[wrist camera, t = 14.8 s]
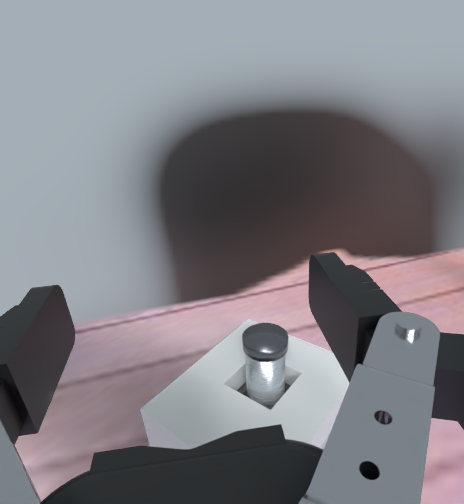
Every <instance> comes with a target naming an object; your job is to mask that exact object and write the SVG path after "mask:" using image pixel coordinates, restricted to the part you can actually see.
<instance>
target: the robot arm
mask: <svg viewBox="0 0 464 504" xmlns="http://www.w3.org/2000/svg"><path fill="white" fill-rule="evenodd" d="M309 304H310V308H311V312H312V314H313V316H314V318H315V320H316V322H317V324H318V325H319V327H320V329H321V331H322V333H323V335H324V337H325V338H326V340H327V342H328V344H329V346H330V348H331V350H332V351H333V353H334V355H335V357H336V359H337V361H338V362H339V364H340V366H341V368H342V370H343V372H344V374H345V375H346V377H347V379H348V381H349V386H348V388H347V391H346V393H345V396H344V399H343V401H342V404H341V406H340V409H339V412H338V414H337V417H336V419H335V422H334V424H333V427H332V430H331V432H330V435H329V437H328V440H327V442H326V445H325V448H324V450H323V449H321V448H319V447H317V446H314V445H311V444H308V443H305V442H301V441H296V440H290V439H285V436H284V432H283V429H282V425H281V424H279V425H272V426H266V427H259V428H253V429H246V430H240V431H235V432H233V433H230V434H228V435H225V436H223V437H220V438H218V439H215V440H213V441H210V442H208V443H206V444H203V445H201V446H198V447H196V448H193V449H174V448H162V447H151V446H136V447H130V448H123V449H117V450H110V451H104V452H97V453H94V456H93V460H92V464H91V468H90V471H87V472H85V473H83V474H81V475H79V476H77V477H75V478H73V479H71V480H70V481H68V482H67V483H65V484H64V485H62V486H60V487H59V488H58V489H56V490H55V491H54V492H52V493H51V494H50V495H49V496H47V497H46V498H45V499H44V500H43V501H42V502H41V500H40V497H39V495H38V493H37V491H36V489H35V487H34V485H33V483H32V481H31V479H30V477H29V475H28V472H27V470H26V468H25V466H24V464H23V462H22V460H21V458H20V456H19V454H18V452H17V450H16V448H15V446H14V445H15V443H16V441H17V438H18V436H22V435H28V434H35V433H38V431H39V429H40V426H41V424H42V421H43V419H44V416H45V414H46V411H47V409H48V407H49V404H50V402H51V399H52V397H53V394H54V392H55V389H56V387H57V385H58V382H59V380H60V377H61V375H62V372H63V370H64V367H65V365H66V363H67V360H68V358H69V355H70V353H71V350H72V348H73V345H74V341H75V329H74V325H73V321H72V318H71V315H70V312H69V309H68V306H67V303H66V300H65V297H64V294H63V291H62V289H61V287H60V286H58V285H53V286H44V287H37V288H32V289H30V291H29V292H28V293H27V295H26V296H25V298H24V299H23V300H22V302H21V303H20V304H19V305H17V306H14V307H13V308H11V309H10V310H9V311H7V312H6V313H5V314H3V315H2V316H1V317H0V504H420V501H421V493H422V485H423V478H424V470H425V462H426V454H427V447H428V439H429V431H430V423H431V418H437V419H445V420H453V421H458V423H459V424H460V425H461V427H462V428H463V430H464V335H463V334H451V333H441V332H439V329H438V328H437V326H436V325H435V324H434V323H433V322H431V321H430V320H428V319H427V318H425V317H422V316H420V315H417V314H414V313H409V312H402V311H401V310H400V309H399V308H398V307H397V305H396V304H395V303H394V302H393V301H392V300H391V299H390V298H389V297H388V296H387V295H386V294H385V292H384V291H383V290H380V287H379V286H378V285H377V284H376V283H375V282H373V279H372V278H371V277H370V276H369V275H368V274H367V273H366V272H365V271H363V270H361V269H359V268H357V267H355V266H353V265H345V264H344V263H343V261H342V260H341V259H340V258H339V257H338V256H337V254H336V253H334V252H331V253H323V254H315V255H311V256H310V261H309Z"/></svg>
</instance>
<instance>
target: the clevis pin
mask: <svg viewBox="0 0 464 504" xmlns="http://www.w3.org/2000/svg"><path fill="white" fill-rule="evenodd" d="M242 345H243V351H244V353H245V357H246V384H247V397H248V398H250V399H252V400H254V401H255V402H257V403H259V404H261V405H262V406H264V407H266V408H268V409H270V410H271V409H272V408H273V407H274V406H275V404H276V403H277V402H278V401H279V400H280V398H281V397H282V396H283V395H284V394H285V355H286V353H287V351H288V333H287V332H286V331H285V329H283V328H282V327H280V326H278V325H275V324H271V323H259V324H254V325H252V326H250V327H248V328H247V329H246V330H245V331H244V332H243V334H242Z"/></svg>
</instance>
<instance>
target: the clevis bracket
mask: <svg viewBox="0 0 464 504" xmlns="http://www.w3.org/2000/svg"><path fill="white" fill-rule="evenodd" d="M254 324H259V323H258V322H256V321H254V320H251V319H247V320H246V321H245V322H244V323H243V324H241V325H240V326H239V327H238V328H237V329H235V330H234V331H233V332H232V333H231V334H229V335H228V336H227V337H226V338H225V339H223V340H222V341H221V342H220V343H219V344H217V345H216V346H215V347H214V348H213V349H211V350H210V351H209V352H208V353H207V354H205V355H204V356H203V357H202V358H201V359H199V360H198V361H197V362H196V363H195V364H193V365H192V366H191V367H190V368H189V369H187V370H186V371H185V372H184V373H183V374H181V375H180V376H179V377H178V378H177V379H175V380H174V381H173V382H172V383H171V384H169V385H168V386H167V387H166V388H165V389H163V390H162V391H161V392H160V393H159V394H157V395H156V396H155V397H154V398H153V399H151V400H150V401H149V402H148V403H147V404H145V405H144V406H143V407H142V408H141V409H140V411H141V415H142V419H143V422H144V426H145V430H146V434H147V438H148V442H149V445H148V446H151V447H162V448H174V449H193V448H196V447H198V446H201V445H203V444H206V443H208V442H210V441H213V440H215V439H218V438H220V437H223V436H225V435H228V434H230V433H233V432H235V431H240V430H246V429H253V428H259V427H266V426H272V425H279V424H281V425H282V429H283V432H284V436H285V439H290V440H296V441H301V442H305V443H308V444H311V445H314V446H317V447H319V448H321V449H323V450H324V448H325V445H326V442H327V440H328V437H329V435H330V432H331V430H332V427H333V424H334V422H335V419H336V417H337V414H338V412H339V409H340V406H341V404H342V401H343V399H344V396H345V393H346V391H347V388H348V386H349V381H348V379H347V377H346V375H345V374H344V372H343V370H342V368H341V366H340V364H339V362H338V361H337V359H336V357H335V355H334V353H333V352H331V351H328V350H326V349H323V348H321V347H318V346H316V345H313V344H311V343H308V342H306V341H303V340H301V339H298V338H296V337H293V336H291V335H288V351H287V353H286V355H285V394H284V395H283V396H282V397H281V398H280V400H279V401H278V402H277V403H276V404H275V406H274V407H273V408H272V409H271V410H270V409H268V408H266V407H264V406H262V405H261V404H259V403H257V402H255V401H254V400H252V399H250V398H248V397H247V384H246V357H245V353H244V351H243V345H242V334H243V332H244V331H245V330H246V329H247V328H248V327H250V326H252V325H254Z"/></svg>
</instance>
